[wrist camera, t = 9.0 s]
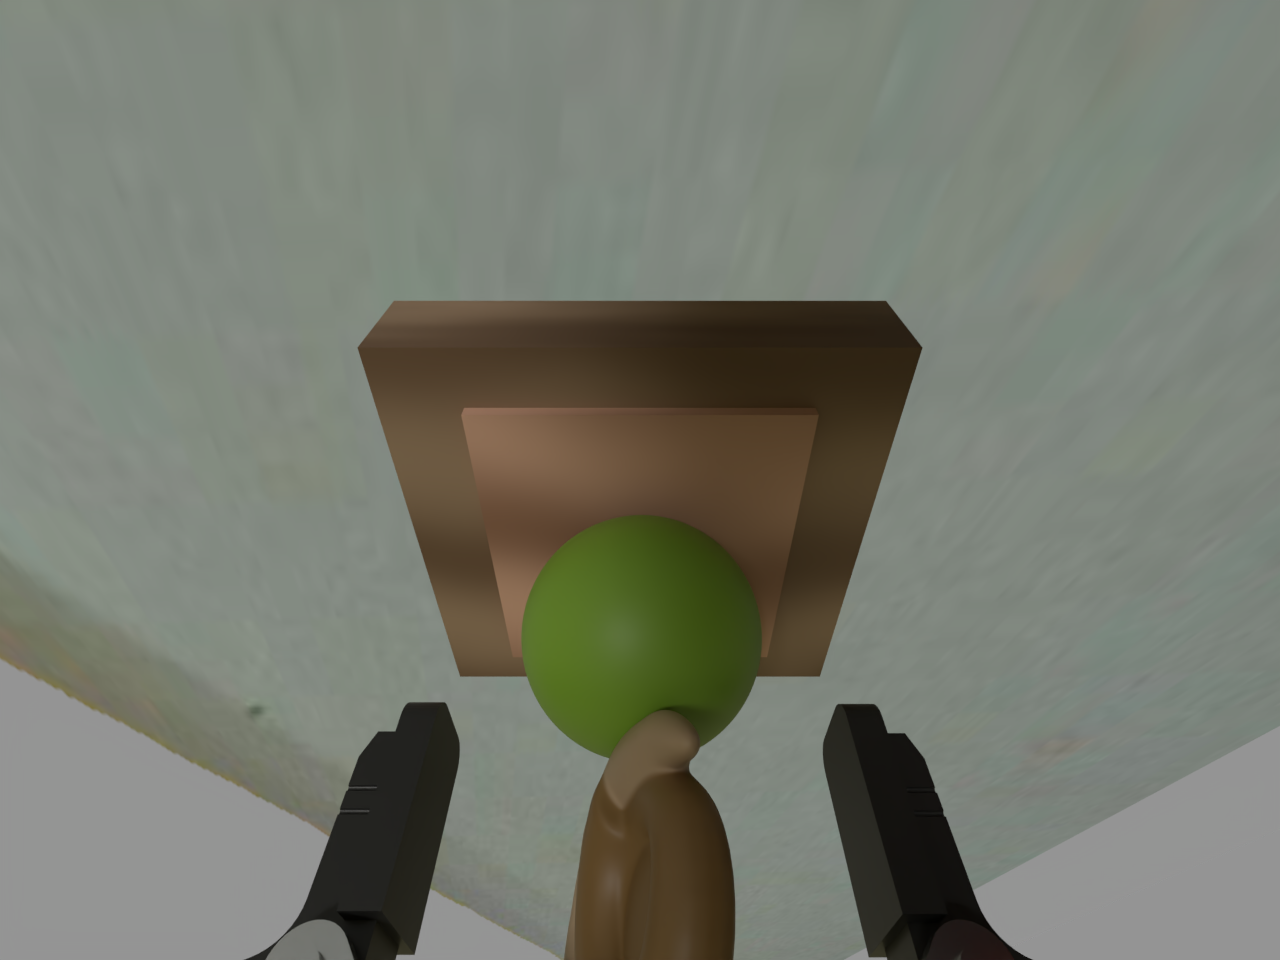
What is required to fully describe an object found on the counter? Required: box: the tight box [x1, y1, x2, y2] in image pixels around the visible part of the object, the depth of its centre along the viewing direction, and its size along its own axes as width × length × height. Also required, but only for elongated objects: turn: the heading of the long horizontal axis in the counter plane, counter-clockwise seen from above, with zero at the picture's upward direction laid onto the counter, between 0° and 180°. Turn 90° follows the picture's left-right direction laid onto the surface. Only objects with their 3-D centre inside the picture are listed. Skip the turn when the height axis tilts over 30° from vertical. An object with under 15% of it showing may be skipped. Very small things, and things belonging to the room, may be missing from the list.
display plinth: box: [357, 301, 923, 677], centre depth 18 cm, size 12×12×3 cm
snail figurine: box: [521, 515, 762, 960], centre depth 12 cm, size 5×6×12 cm
